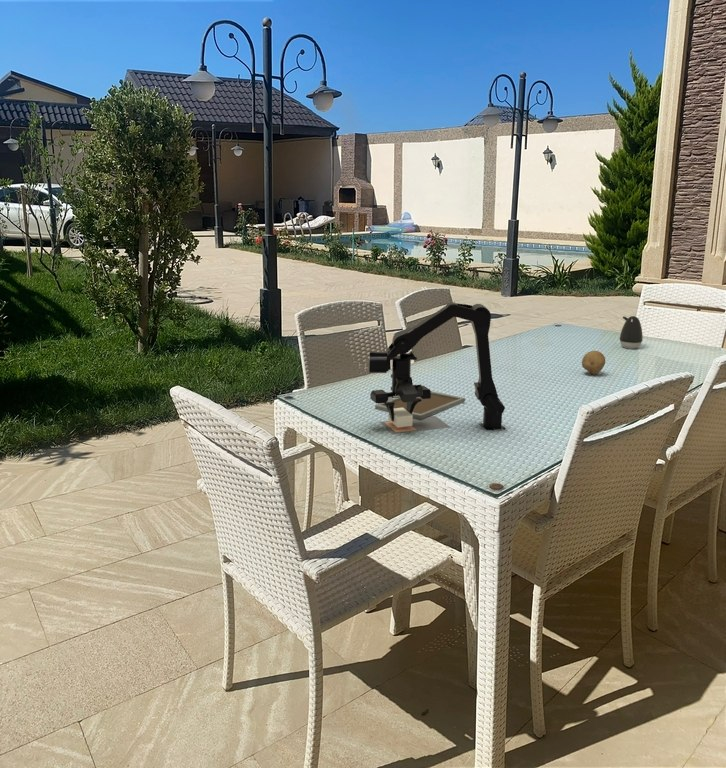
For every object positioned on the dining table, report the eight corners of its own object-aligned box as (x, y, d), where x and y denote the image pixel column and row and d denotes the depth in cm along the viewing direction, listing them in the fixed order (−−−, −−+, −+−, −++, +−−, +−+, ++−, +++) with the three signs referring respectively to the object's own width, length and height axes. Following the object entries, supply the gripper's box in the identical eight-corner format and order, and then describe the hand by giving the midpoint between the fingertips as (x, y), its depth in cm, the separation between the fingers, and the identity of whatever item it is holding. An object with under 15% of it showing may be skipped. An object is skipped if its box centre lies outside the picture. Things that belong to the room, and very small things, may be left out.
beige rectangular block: (402, 417, 236) (402, 407, 235) (412, 425, 229) (412, 415, 228) (388, 419, 234) (388, 409, 233) (397, 427, 227) (397, 416, 226)
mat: (451, 429, 231) (451, 426, 231) (392, 435, 225) (392, 433, 225) (435, 417, 242) (435, 415, 242) (379, 423, 236) (379, 421, 236)
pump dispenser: (625, 344, 351) (629, 313, 347) (645, 348, 343) (649, 316, 339) (614, 347, 345) (617, 315, 340) (634, 351, 337) (637, 319, 333)
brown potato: (590, 378, 291) (593, 354, 288) (576, 373, 299) (578, 349, 296) (608, 376, 294) (610, 352, 292) (593, 370, 302) (595, 347, 299)
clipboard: (465, 397, 257) (416, 417, 235) (465, 402, 258) (415, 422, 235) (420, 388, 269) (370, 406, 247) (420, 393, 270) (370, 411, 247)
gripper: (382, 382, 217) (381, 431, 221) (439, 376, 222) (437, 425, 227) (369, 372, 227) (369, 420, 231) (424, 368, 233) (423, 414, 237)
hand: (400, 420), depth 231 cm, fingers closed on beige rectangular block, 5 cm apart
